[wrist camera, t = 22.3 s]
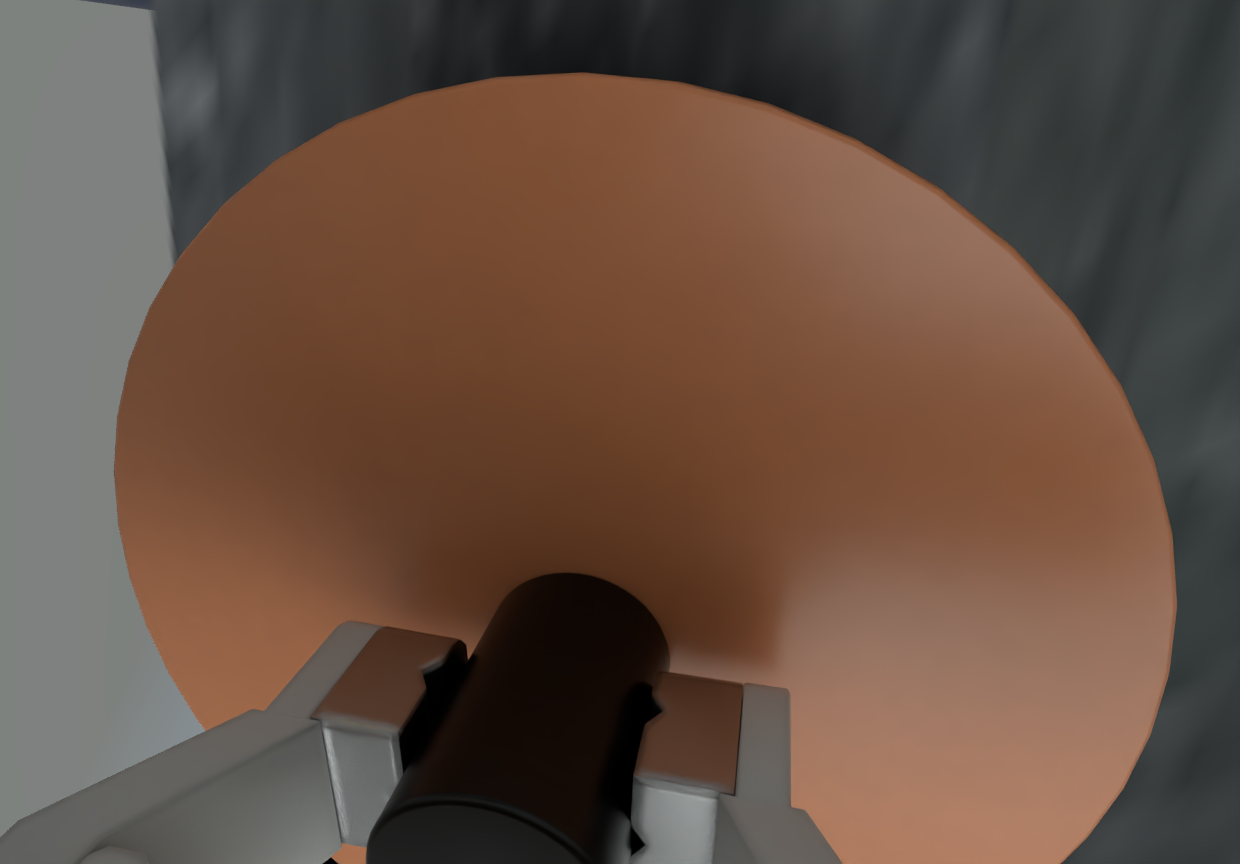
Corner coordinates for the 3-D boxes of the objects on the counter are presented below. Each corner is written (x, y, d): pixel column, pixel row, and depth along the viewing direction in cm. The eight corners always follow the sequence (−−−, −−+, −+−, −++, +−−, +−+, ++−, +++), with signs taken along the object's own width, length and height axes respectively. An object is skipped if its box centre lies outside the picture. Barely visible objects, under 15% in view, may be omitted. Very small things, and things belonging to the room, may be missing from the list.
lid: (256, 834, 15) (49, 1121, 11) (71, 63, 10) (-498, 36, 5) (996, 991, 13) (1100, 1436, 9) (1322, 90, 7) (2078, 81, 3)
